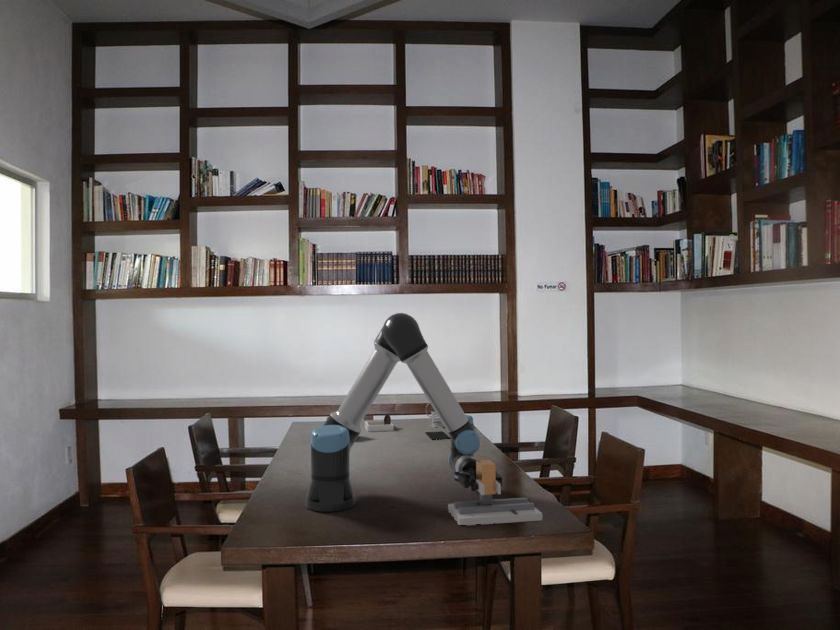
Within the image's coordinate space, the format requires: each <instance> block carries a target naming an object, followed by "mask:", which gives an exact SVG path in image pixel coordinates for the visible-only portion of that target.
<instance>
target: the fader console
mask: <svg viewBox="0 0 840 630" xmlns="http://www.w3.org/2000/svg"><path fill="white" fill-rule="evenodd" d="M477 503H480V499H478V500H463V501H461V500H460V501H454V502H453V503H448V504H447V509H448V510H449V511H448V510H447V511H448V512H449V514H450V513H451V514H450V515H451V517H452V518H453V517H454V518H453V520H454V521H455V522H456V521H457V522H456V523H457V525H458V526H459V525H467V526H477V525H476V524H481V525H493V524H494V523H495V524H507V523H509V524H510V523H521V522H522V523H523V522H535V521H537V522H538V521H543V512H541V511H540V510H539V509H538V508H537V507H535V503H534V502H529V499H528V497H512V498H509V497H508V498H497V499H496V498H494V499H493V498H492V503H493V504H494V505H484V506H477Z"/></svg>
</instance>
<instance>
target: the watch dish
mask: <svg viewBox="0 0 840 630" xmlns="http://www.w3.org/2000/svg"><path fill="white" fill-rule="evenodd" d="M364 428H365V429H366V432H370V433H371V432H390V431H391V432H393V431H394V430H395V429H394V428H395V427H394V424H393V422H392V421H391V423H390V424H388V425H384V420H365V421H364Z"/></svg>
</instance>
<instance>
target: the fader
mask: <svg viewBox="0 0 840 630" xmlns="http://www.w3.org/2000/svg"><path fill="white" fill-rule="evenodd" d="M495 470H496V463H495V462H493V461H492V460H490V459H476V480H479V481H480V482H481V483H482V484H484V489H485V495H481V494H480V493H479V500H480V503H477V506H484V505H494V504H493V503H492V500H493V495H496V494H497V493H496V472H495Z"/></svg>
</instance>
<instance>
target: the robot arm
mask: <svg viewBox="0 0 840 630" xmlns="http://www.w3.org/2000/svg"><path fill="white" fill-rule="evenodd" d="M383 323H384V324H383V325H382V328H381V330H379V333H378V334H377V336H376V338H375V339H374V340H373V346H374V350H372V353H371V355H370V356H369V358H368V359H367V361H366V364H365V365H364V366H363V368H362V369H361V371H360V373H359V374H358V376H357V378H356V379H355V381H354V383H353V384H352V386H351V387H350V390H349V391H348V393H347V395H346V396H345V398H344V399H343V401H342V403H341V404H340V406H339V408H338V410H336V411H333V412H330V414H329V416H327V417H328V419H327V418H326V420H325V421H324V424H323V425H321V426H319V427H316V428H314V429H313V430H312V432H311V435H310V440H309V442H310V462H311V463H310V468H311V469H310V471H311V472H310V473H311V474H310V475H311V476H310V479H311V480H310V483H309V487H308V490H307V493H306V497H305V507H306V508H307V509H308V510H310V511H315V512H321V513H322V512H325V513H327V512H329V513H330V512H339V511H341V512H342V511H344V510H345V511H346V510H348V509H351V508H353V507H355V505H356V495H355V492H354V488H353V485H352V482H351V480H350V479H351V478H350V452H351V449H352V447H353V445H354V444H355V442H356V440H357V438H359V435H360V433H361V432H362V429H361V423H362V421H363V420H364V418H365V417H366V415H367V413H368V411H369V410H370V408H371V406H372V405H373V403H374V402H375V400H376V398H377V397H378V395H379V394H380V391H381V390H382V388H383V387H384V386H385V384H386V382H387V380H388V378H389V377H390V375H391V374H392V372H393V371H394V368H395V367H396V365H397V364H398V363H399V362H401V363H403V364H405V365H406V366H407V367H408V369H409V370H410V372H411V374H412V375H413V377H414V379H415V381H416V382H417V383H418V386H419V387H420V389H421V390H422V392H423V394H424V395H425V397H426V398H427V400H428V403H430V404H429V405H430V406H431V408H432V407H433V409H432V410H435V412H436V413H437V414H436V415H438V417H437V418H440V420H439V421H441V422H442V423H443V425H444V427H445V428H444V429H445V430H446V431H447V432H446V433H448V436H449V437H450V438H451V440H450V453H449V454H448V459H447V461H448V465H449V466H450V468H451V470H452V471H453V472H454V481H456V482H458V483H459V484H460V485H461V486H462V487H463V488H465V489H469V488H470V490H471V492H475V491H477V492H478V493H479V495H480V494H481V495H485V489H484V484H482V483H481V482H480V481H479V480H476V460H477V458H476V457H474V456H475V455H474V454H475V453H477V452H478V451H479V449H480V447H481V439H480V435H479V434H478V433H477V431H476V430H475V428H474V426H475V423H474V417H473V416H472V415H470V414H466V413H465V412H464V410H463V408H462V407H461V405H460V403H459V401H458V400H457V398H456V397H455V395H454V394H453V391H452V390H451V389H450V386H449V385H448V383H447V381H446V379H445V378H444V377H443V375H442V373H441V372H440V370H439V368H438V367H437V365H436V363H435V361H434V360H433V358H432V357H431V355H430V353H429V351H428V348H429V345H428V344H427V342H426V340H425V339H424V336H423V334H422V332H421V329H420V325H419V323H418V321H417V320H416V319H415V318H414V317H413V316H412V315H410V314H408V313H405V312H404V313H403V312H398V313H395V314H392V315H390V316H389V317H388V318H387V319H386V320H385V321H384V322H383ZM495 472H496V494H497V495H501V494H502V493H501V492H502V491H501V490H502V487H503V477H502V476H501V475H500V474H499V473H498V471H497V469H495Z"/></svg>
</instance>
